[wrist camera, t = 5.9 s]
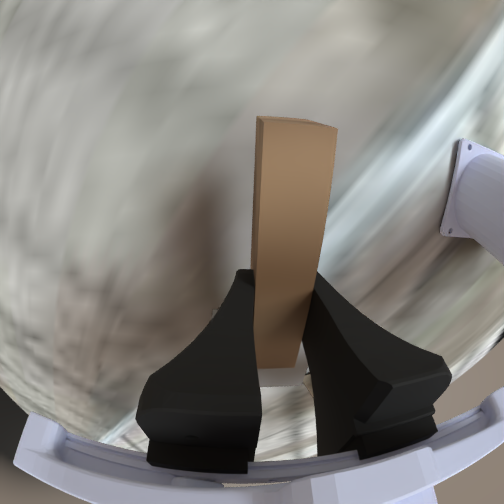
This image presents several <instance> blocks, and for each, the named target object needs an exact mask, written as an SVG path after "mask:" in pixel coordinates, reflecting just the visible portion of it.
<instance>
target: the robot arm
mask: <svg viewBox="0 0 504 504" xmlns="http://www.w3.org/2000/svg"><path fill="white" fill-rule="evenodd" d="M468 145H469V147H468ZM449 229H450V230H449ZM440 233H441V234H442V235H443V236H448V237H463V238H473V239H474V240H476V241H477V242H478V243H479V244H480V245H482V246H483V247H484V248H485V249H486V250H487V251H488V252H490V253H491V254H492V255H493V256H494V257H495V258H496V259H497V260H498V261H499V262H501V263H502V264H503V265H504V156H503V155H501V154H499V153H497V152H495V151H493V150H491V149H488V148H486V147H484V146H482V145H479V144H477V143H474V142H472V141H470V140H467V139H464V138H462V139H460V141H459V146H458V152H457V158H456V164H455V170H454V175H453V180H452V184H451V189H450V193H449V197H448V201H447V205H446V209H445V213H444V217H443V220H442V224H441V227H440ZM254 292H255V279H254V272H253V269H239V270H238V271H236V276H235V279H234V282H233V284H232V286H231V289H230V291H229V292H228V294H227V296H226V298H225V300H224V302H223V303H222V305H221V306H220V308H219V310H218V311H217V313H216V314H215V316H214V317H213V318H212V320H211V321H210V322H209V324H208V325H207V326H206V327H205V329H204V330H203V331H202V332H201V333H200V334H199V335H198V336H197V337H196V339H195V340H194V341H193V342H192V343H191V344H190V345H189V346H188V347H186V348H185V349H184V350H183V351H182V352H181V353H180V354H178V355H177V356H176V357H175V358H174V359H173V360H171V361H170V362H169V363H167V364H166V365H165V366H163V367H162V368H160V369H159V370H157V371H156V372H155V373H153V374H152V375H150V376H149V378H148V380H147V382H146V384H145V386H144V389H143V391H142V394H141V396H140V400H139V404H138V409H137V413H136V418H135V419H136V421H137V423H138V425H139V426H140V427H141V429H142V430H143V431H144V433H145V434H146V435H147V437H148V438H149V439H150V440H149V446H148V452H147V453H143V452H138V451H133V450H128V449H124V448H120V447H116V446H112V445H108V444H104V443H101V442H97V441H94V440H90V439H87V438H84V437H81V436H78V435H75V434H72V433H69V432H67V430H66V429H65V428H64V427H63V426H62V425H60V424H59V423H57V422H56V421H54V420H52V419H50V418H47V417H45V416H42V415H40V414H38V413H35V412H33V411H32V412H30V414H29V417H28V420H27V422H26V425H25V428H24V430H23V433H22V436H21V439H20V442H19V445H18V448H17V451H16V454H15V458H14V461H13V463H14V465H15V466H17V467H19V468H20V469H22V470H24V471H25V472H27V473H29V474H30V475H32V476H34V477H36V478H37V479H39V480H41V481H43V482H45V483H47V484H49V485H51V486H53V487H55V488H57V489H59V490H62V491H64V492H66V493H68V494H70V495H73V496H75V497H77V498H80V499H83V500H85V501H88V502H90V503H93V504H438V503H437V499H436V495H435V491H434V488H433V486H434V485H436V484H438V483H440V482H442V481H443V480H446V479H447V478H449V477H451V476H453V475H455V474H456V473H458V472H460V471H461V470H463V469H465V468H467V467H468V466H470V465H471V464H473V463H475V462H476V461H477V460H479V459H481V458H482V457H484V456H485V455H487V454H488V453H489V452H491V451H492V450H494V449H495V448H496V447H498V446H499V445H500V444H502V443H503V442H504V386H503V387H501V388H500V389H498V390H496V391H494V392H493V393H491V394H490V395H489V396H487V397H486V398H485V399H484V401H482V403H481V404H480V405H479V406H477V407H475V408H473V409H471V410H469V411H467V412H465V413H463V414H461V415H459V416H456V417H454V418H452V419H450V420H447V421H445V422H443V423H440V424H438V425H436V424H435V422H434V419H433V417H432V415H433V414H434V413H435V409H434V406H433V403H434V402H435V401H436V400H437V399H438V398H439V397H440V396H441V395H442V394H443V392H444V391H445V390H446V389H447V387H448V386H449V384H450V382H451V379H452V374H451V372H450V370H449V368H448V367H447V365H446V363H445V361H444V359H443V358H442V356H439V355H437V354H434V353H431V352H429V351H426V350H423V349H421V348H419V347H416V346H414V345H412V344H410V343H408V342H406V341H404V340H402V339H400V338H398V337H396V336H395V335H393V334H391V333H390V332H388V331H386V330H385V329H383V328H382V327H380V326H378V325H377V324H376V323H374V322H373V321H371V320H370V319H369V318H367V317H366V316H365V315H363V314H362V313H361V312H360V311H358V310H357V309H356V308H355V307H354V306H352V305H351V304H350V303H349V302H348V301H347V300H346V299H345V298H344V297H342V296H341V295H340V294H339V293H338V292H337V291H336V290H335V289H334V288H333V287H332V286H331V285H330V284H329V283H328V282H327V281H326V280H325V279H324V278H323V277H322V276H321V275H320V274H319V273H318V272H317V273H316V278H315V283H314V288H313V293H312V297H311V302H310V307H309V311H308V316H307V320H306V324H305V328H304V333H303V337H302V344H303V348H304V351H305V355H306V359H307V363H308V366H309V371H310V375H311V382H312V389H313V397H314V406H315V417H316V430H317V457H311V458H303V459H294V460H282V461H264V462H254V456H255V450H256V448H257V443H258V437H259V431H260V425H261V419H262V404H261V392H260V385H259V378H258V370H257V362H256V352H255V342H254V331H253V311H254ZM287 481H291V482H288V483H280V484H272V485H262V486H248V487H224V485H223V484H222V483H236V484H248V483H274V482H287Z"/></svg>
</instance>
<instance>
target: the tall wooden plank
mask: <svg viewBox="0 0 504 504" xmlns="http://www.w3.org/2000/svg"><path fill="white" fill-rule="evenodd" d="M337 132H338V129H337V128H334V127H331V126H327V125H324V124H321V123H317V122H314V121H310V120H306V119H297V118H284V117H269V116H257V119H256V144H255V169H254V194H253V219H252V244H251V269H253V272H254V279H255V292H254V311H253V331H254V342H255V352H256V362H257V370H258V378H259V385H260V387H279V386H298V385H302V382H303V379H304V376H305V373H306V370H307V367H308V363H307V359H306V355H305V351H304V348H303V344H302V337H303V333H304V328H305V324H306V320H307V316H308V311H309V307H310V302H311V297H312V293H313V288H314V283H315V278H316V273H317V268H318V263H319V258H320V252H321V247H322V241H323V235H324V229H325V223H326V217H327V211H328V204H329V197H330V190H331V183H332V176H333V168H334V159H335V151H336V142H337ZM217 311H218V310H213V312H212V318H213V317H214V316H215V314H216V313H217Z"/></svg>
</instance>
